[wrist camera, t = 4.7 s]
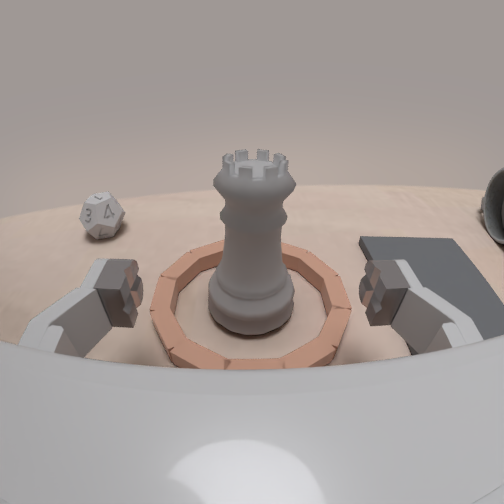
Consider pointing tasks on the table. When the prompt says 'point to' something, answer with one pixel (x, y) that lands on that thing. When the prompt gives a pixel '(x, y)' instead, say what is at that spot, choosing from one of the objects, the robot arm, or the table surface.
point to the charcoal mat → (444, 276)
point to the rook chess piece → (252, 245)
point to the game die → (101, 215)
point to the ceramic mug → (494, 207)
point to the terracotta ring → (200, 357)
